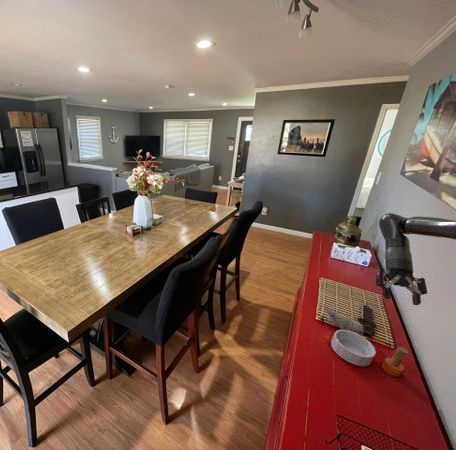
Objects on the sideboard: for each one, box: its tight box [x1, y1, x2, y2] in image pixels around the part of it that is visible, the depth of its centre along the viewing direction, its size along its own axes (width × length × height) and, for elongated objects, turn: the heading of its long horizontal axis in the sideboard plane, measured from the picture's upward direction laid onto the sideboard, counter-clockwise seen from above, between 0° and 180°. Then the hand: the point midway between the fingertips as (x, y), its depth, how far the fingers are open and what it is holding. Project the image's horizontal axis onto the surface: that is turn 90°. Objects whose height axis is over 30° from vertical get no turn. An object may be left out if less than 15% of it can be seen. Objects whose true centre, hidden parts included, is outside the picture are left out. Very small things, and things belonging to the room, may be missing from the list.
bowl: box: [330, 329, 377, 367], centre depth 97 cm, size 13×13×6 cm
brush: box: [381, 346, 409, 378], centre depth 89 cm, size 5×5×11 cm
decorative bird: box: [320, 307, 365, 337], centre depth 109 cm, size 5×16×8 cm, turn 55°
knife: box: [357, 304, 377, 337], centre depth 115 cm, size 25×6×1 cm, turn 135°
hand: (401, 301), depth 89 cm, fingers open, 8 cm apart
